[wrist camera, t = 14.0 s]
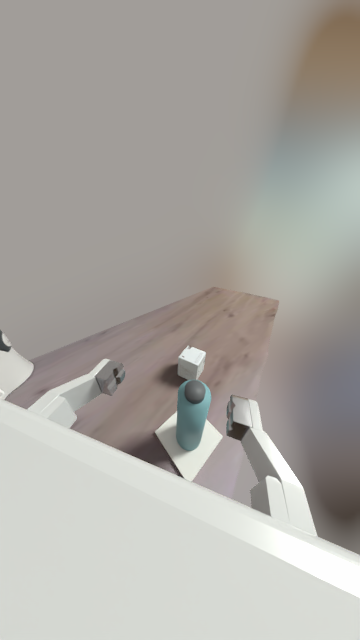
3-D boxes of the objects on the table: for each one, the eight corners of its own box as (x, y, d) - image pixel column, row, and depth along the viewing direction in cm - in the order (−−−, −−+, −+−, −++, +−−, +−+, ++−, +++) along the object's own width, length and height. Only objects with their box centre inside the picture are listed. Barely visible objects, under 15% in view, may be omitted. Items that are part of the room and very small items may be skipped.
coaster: (188, 486, 24) (188, 485, 24) (154, 433, 30) (154, 431, 30) (222, 438, 30) (222, 436, 30) (188, 401, 36) (188, 400, 36)
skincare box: (195, 384, 41) (198, 366, 37) (177, 375, 43) (177, 357, 39) (203, 369, 45) (206, 352, 41) (186, 361, 48) (187, 344, 44)
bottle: (188, 458, 27) (196, 414, 19) (170, 433, 30) (171, 387, 22) (206, 436, 30) (219, 390, 22) (188, 415, 33) (194, 369, 25)
